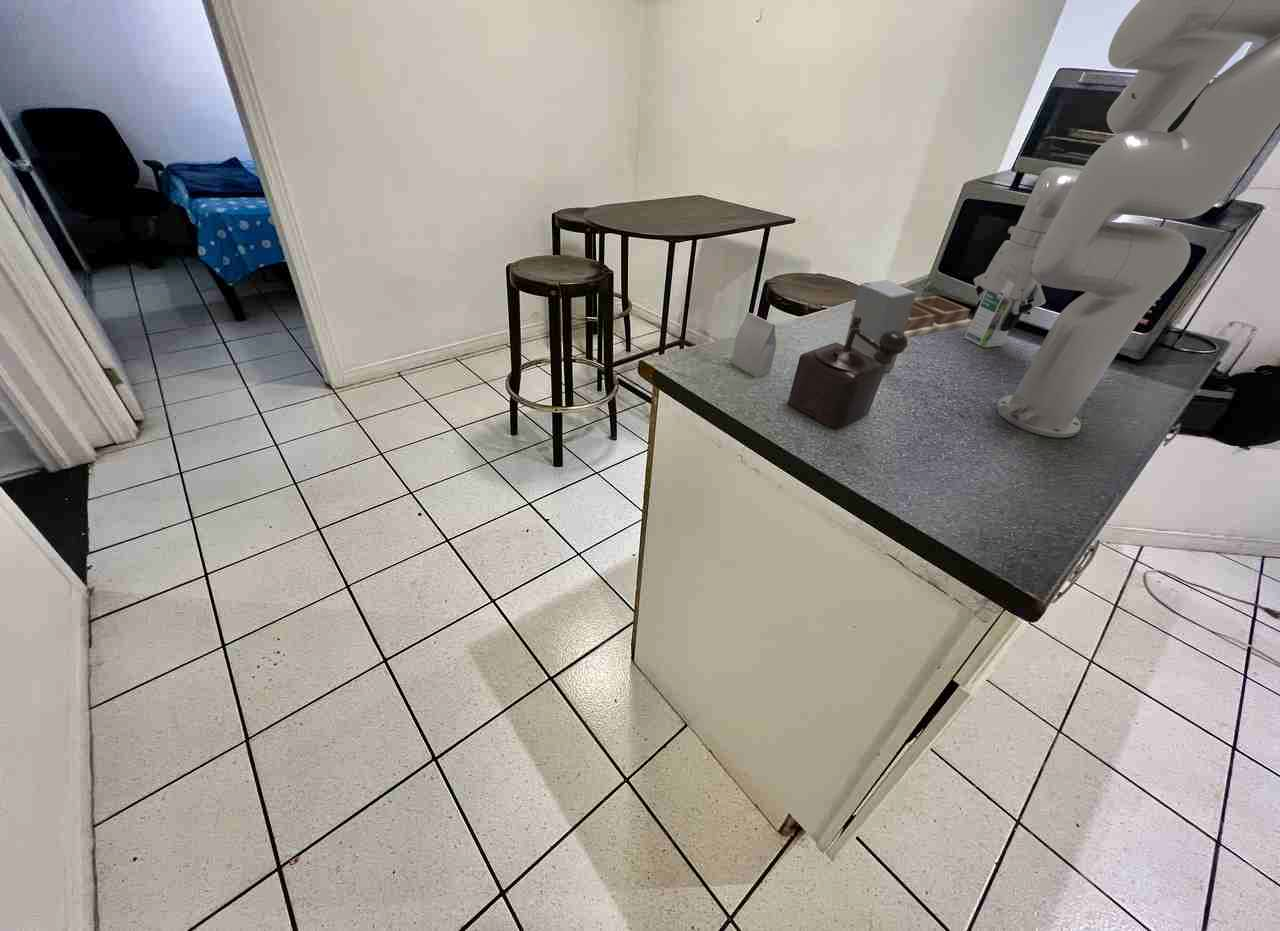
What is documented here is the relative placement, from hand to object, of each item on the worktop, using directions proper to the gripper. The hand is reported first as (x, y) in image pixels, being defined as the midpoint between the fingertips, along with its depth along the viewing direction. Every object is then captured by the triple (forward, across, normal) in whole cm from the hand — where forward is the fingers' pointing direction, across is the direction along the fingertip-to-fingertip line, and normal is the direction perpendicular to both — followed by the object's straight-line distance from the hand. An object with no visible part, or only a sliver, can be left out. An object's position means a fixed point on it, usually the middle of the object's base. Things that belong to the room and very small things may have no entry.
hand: (991, 323), depth 116 cm
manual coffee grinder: (+5, +12, -55) cm, 56 cm away
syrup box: (+5, 0, 0) cm, 5 cm away
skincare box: (+5, -1, -36) cm, 36 cm away
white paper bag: (+5, -8, -59) cm, 60 cm away
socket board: (+4, -16, -5) cm, 17 cm away
